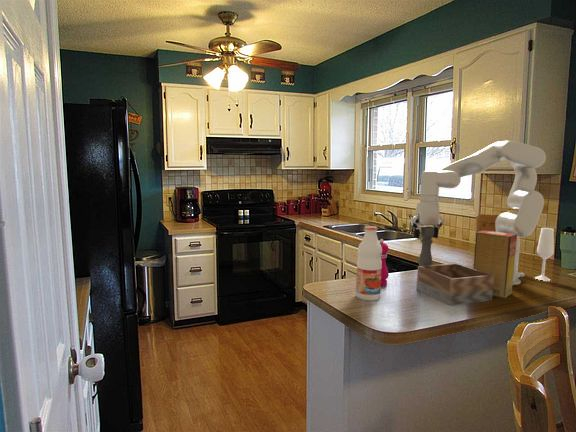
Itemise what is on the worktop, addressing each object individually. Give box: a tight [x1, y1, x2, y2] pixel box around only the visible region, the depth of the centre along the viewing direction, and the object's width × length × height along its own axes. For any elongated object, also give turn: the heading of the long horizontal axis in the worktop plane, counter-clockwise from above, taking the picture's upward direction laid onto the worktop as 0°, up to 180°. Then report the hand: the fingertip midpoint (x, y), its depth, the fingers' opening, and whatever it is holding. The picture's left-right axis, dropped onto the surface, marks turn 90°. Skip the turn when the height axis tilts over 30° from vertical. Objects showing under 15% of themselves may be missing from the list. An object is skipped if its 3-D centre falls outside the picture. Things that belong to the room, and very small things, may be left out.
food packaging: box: [472, 230, 517, 299], centre depth 164 cm, size 13×9×25 cm
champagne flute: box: [534, 227, 555, 282], centre depth 186 cm, size 7×7×24 cm
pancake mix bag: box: [475, 213, 500, 235], centre depth 205 cm, size 7×19×28 cm, turn 55°
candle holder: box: [417, 225, 434, 266], centre depth 177 cm, size 6×6×25 cm
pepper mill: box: [379, 238, 390, 287], centre depth 173 cm, size 7×7×20 cm
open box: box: [416, 262, 494, 306], centre depth 161 cm, size 20×20×10 cm
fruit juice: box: [355, 225, 382, 302], centre depth 155 cm, size 9×9×28 cm
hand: (425, 237), depth 176 cm, fingers open, 9 cm apart
